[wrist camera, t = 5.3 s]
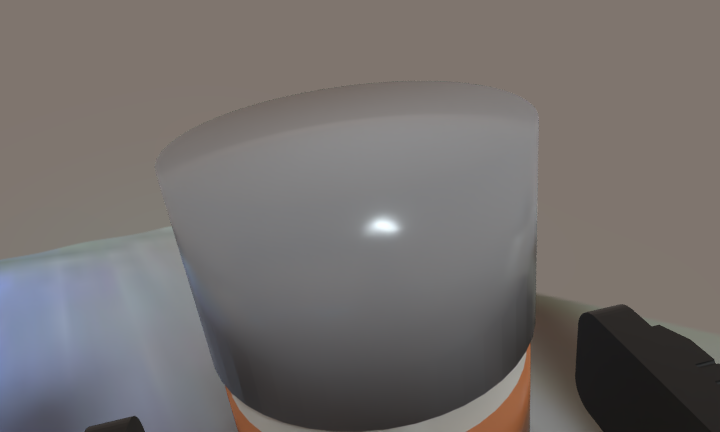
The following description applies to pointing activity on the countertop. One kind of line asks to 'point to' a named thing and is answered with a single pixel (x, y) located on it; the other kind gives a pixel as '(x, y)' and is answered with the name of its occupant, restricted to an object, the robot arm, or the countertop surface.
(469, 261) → the fuse marked
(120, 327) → the countertop surface
